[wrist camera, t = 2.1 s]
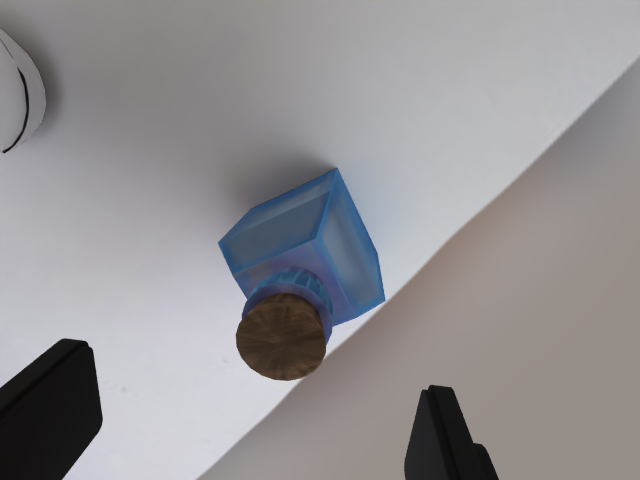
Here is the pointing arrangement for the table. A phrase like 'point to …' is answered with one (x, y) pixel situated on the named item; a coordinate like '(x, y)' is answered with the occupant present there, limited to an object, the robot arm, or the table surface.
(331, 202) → the perfume bottle
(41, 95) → the white sphere
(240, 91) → the table surface
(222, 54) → the table surface
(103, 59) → the table surface
